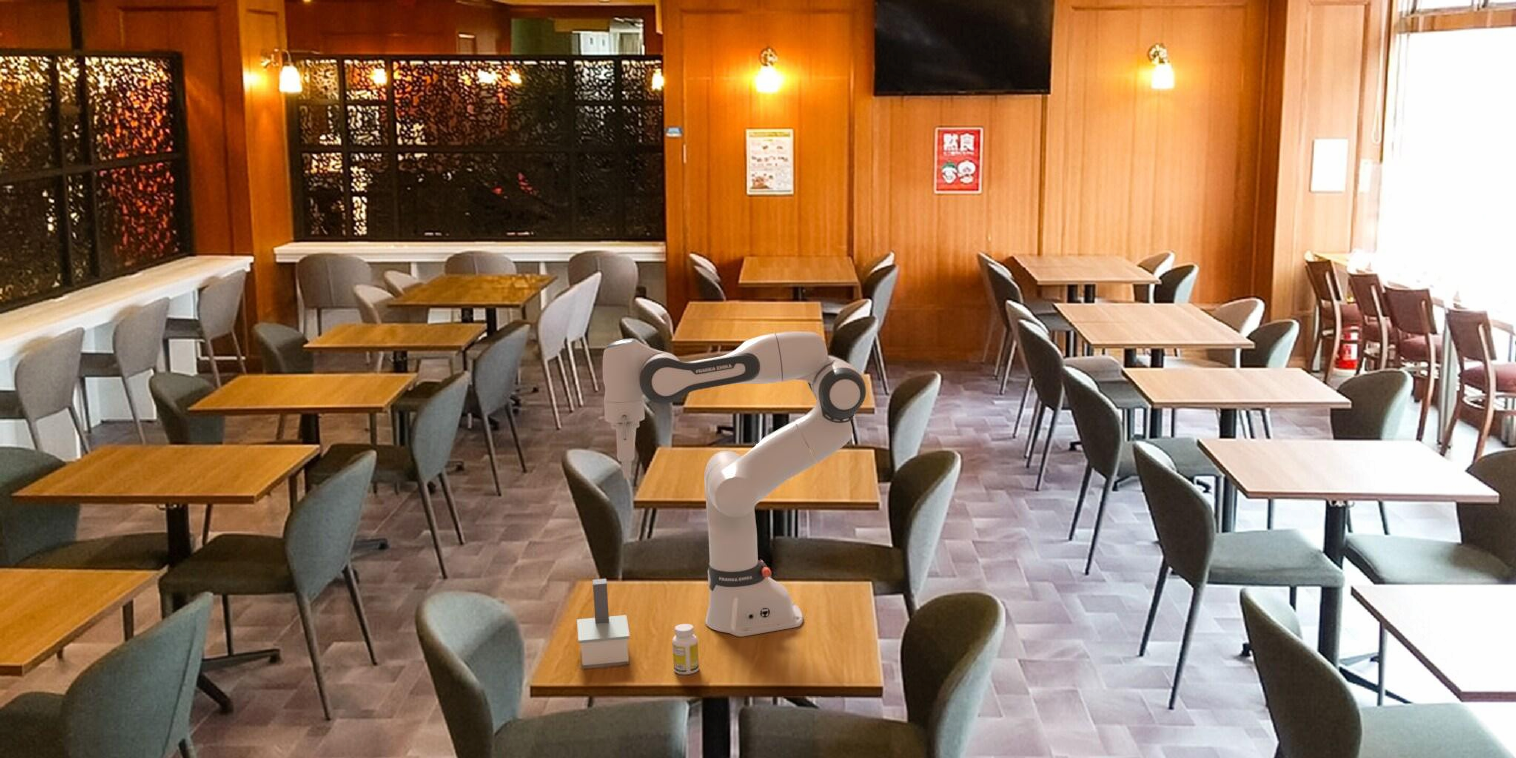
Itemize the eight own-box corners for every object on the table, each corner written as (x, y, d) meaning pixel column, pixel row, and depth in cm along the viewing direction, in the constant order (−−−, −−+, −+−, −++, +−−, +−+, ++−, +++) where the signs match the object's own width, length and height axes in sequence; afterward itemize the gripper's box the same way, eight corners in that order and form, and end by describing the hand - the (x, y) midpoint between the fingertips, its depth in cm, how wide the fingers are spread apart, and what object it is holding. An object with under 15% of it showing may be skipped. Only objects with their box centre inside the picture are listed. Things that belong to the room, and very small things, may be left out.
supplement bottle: (697, 663, 311) (695, 621, 309) (700, 673, 306) (698, 630, 303) (672, 666, 310) (670, 623, 308) (675, 676, 305) (673, 633, 302)
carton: (581, 648, 321) (579, 623, 319) (625, 644, 322) (624, 619, 321) (582, 668, 310) (580, 642, 309) (628, 664, 311) (627, 638, 310)
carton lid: (577, 621, 320) (574, 580, 317) (626, 617, 321) (624, 576, 319) (578, 643, 308) (575, 600, 306) (629, 638, 310) (627, 595, 307)
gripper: (638, 419, 309) (641, 482, 311) (638, 404, 329) (641, 463, 331) (609, 420, 308) (612, 483, 310) (611, 405, 328) (614, 465, 330)
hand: (627, 473), depth 321 cm, fingers open, 8 cm apart
